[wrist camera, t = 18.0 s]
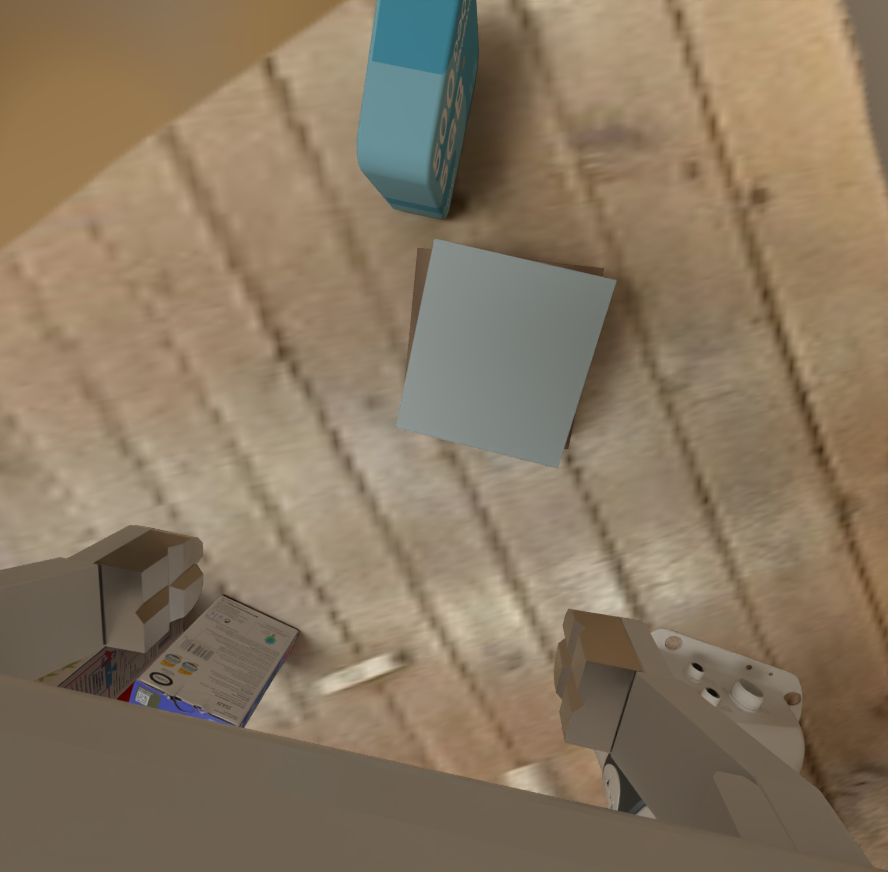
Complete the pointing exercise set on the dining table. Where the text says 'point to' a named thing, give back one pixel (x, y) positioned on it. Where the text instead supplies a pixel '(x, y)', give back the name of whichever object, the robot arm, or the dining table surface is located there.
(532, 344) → the slate top block
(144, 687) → the ink cartridge box
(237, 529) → the dining table surface
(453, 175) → the data package
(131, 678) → the juice carton
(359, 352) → the dining table surface
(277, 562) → the dining table surface
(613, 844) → the robot arm
